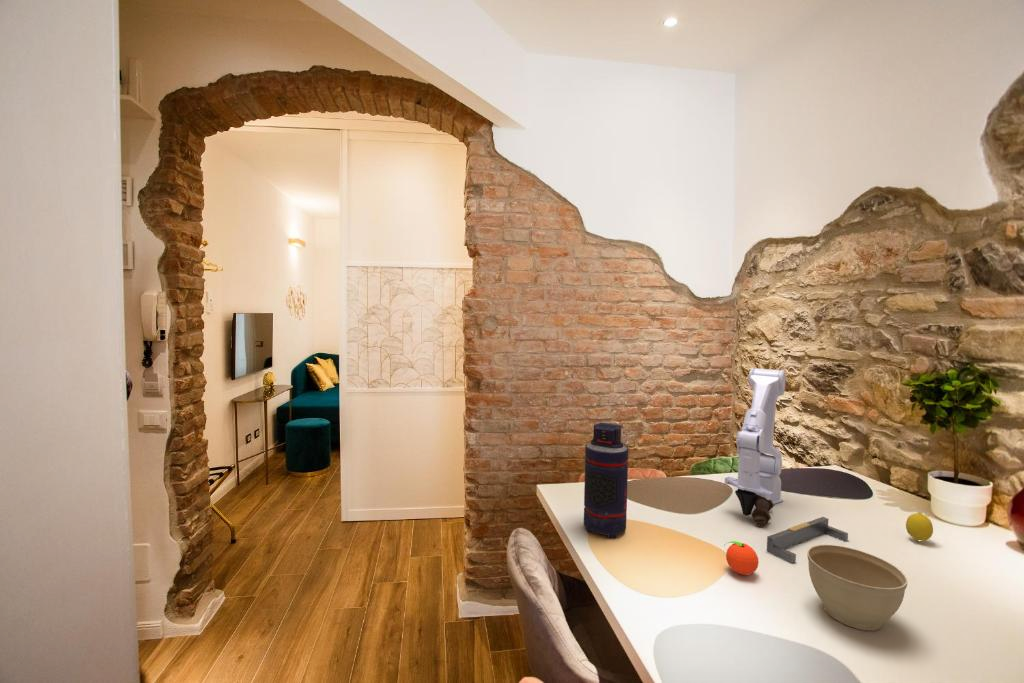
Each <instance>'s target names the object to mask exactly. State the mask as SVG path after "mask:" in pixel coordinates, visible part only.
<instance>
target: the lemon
mask: <svg viewBox="0 0 1024 683" xmlns="http://www.w3.org/2000/svg"><path fill="white" fill-rule="evenodd" d="M905 529H906V532H907V534H908V535H909V536H910V537H912V538H913V539H915V540H916V539H917V540H922V541H928V540H929V539H930V538H931V537H932V536H933V533H934V528H933V523H932V521H931V519H929V517H927V516H926V515H924V514H923V513H921V512H917V513H913V514H910V515H909V516H908V517H907V519H906V522H905ZM917 540H916V541H917Z"/></svg>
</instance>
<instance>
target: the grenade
mask: <svg viewBox="0 0 1024 683" xmlns="http://www.w3.org/2000/svg"><path fill="white" fill-rule="evenodd" d="M622 427H623V425H622V424H616V423H609V422H602V421H601V422H599V423H596V424H594V425H593V437H592V439H591V440H590V441H589V442H587V443H586V444H585V448H584V449H585V450H584V454H585V455H584V457H585V458H584V488H583V489H584V490H583V491H584V492H583V493H584V495H583V496H584V497H583V526H584V527H585V530H586V531H587V533H590V532H593V533H596V534H600V535H606V536H607V537H608V539H616V538H617V535H620V534H622V533H624V532H625V531H626V529H627V511H628V509H627V507H628V479H629V478H628V475H629V462H628V461H629V447H628V444H629V436H628V432H627V431H626V430H625V429H622ZM623 433H625V435H626V442H625V441H624V437H623Z"/></svg>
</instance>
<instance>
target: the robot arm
mask: <svg viewBox="0 0 1024 683" xmlns="http://www.w3.org/2000/svg"><path fill="white" fill-rule="evenodd" d="M786 377H787V376H786V372H785V371H784V370H783V369H781V370H779V369H768V368H755V367H752V368H751V369H750V371H749V374H748V383H749V385H750V389H751V390H752V391H753V392H752V394H753V395H752V402H751V408H749V409H747V410H746V411H745V415H744V418H743V423H742V427H741V430H738V432H737V435H736V447H737V450H736V451H737V452H736V453H737V455H738V463H737V464H738V465H737V466H738V467H737V478H736V477H735V478H734V477H731V476H725V477H724V484H725V485H730V486H733V487H735V488H736V490H734V491H735V492H734V493H735V495H736V497H737V499H738V501H739V504H740V508H741V512H742V515H744V516H746V517H748V516H752V512H753V510H754V507H755V506H754V505H755V503H756V501H757V500H758V498H759V497H760V496H762V497H764V498H766V499H767V500H772V502H773V504H774V505H775V504H778V503H781V502H784V499H782V494H781V493H782V480H781V477H780V475H781V473H782V469H783V468H782V467H783V460H782V459H783V458H782V456H783V454H782V453H781V451H780V450H779V449H777V447H776V446H774V433H775V422H776V421H775V419H776V409H777V408H776V407H777V401H778V398H779V397H781V396H784V395H785V391H786V390H785V389H786Z"/></svg>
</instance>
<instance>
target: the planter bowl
mask: <svg viewBox="0 0 1024 683" xmlns="http://www.w3.org/2000/svg"><path fill="white" fill-rule="evenodd" d="M806 554H807V561H808V563H807V564H808V572H809V576H810V580H811V584H812V586H813V588H814V591H815V593H816V595H817V596H818V598H819V599H820V600H821V602H822V607H823V609H824V610H825V612H826V613H827V614H828V616H830V617H832V618H833V619H834V620H836V621H838V622H840V623H842V624H844V625H845V626H848V627H850V628H851V627H852V628H854V629H859V630H862V631H876V630H879V629H880V628H881V627H882V624H883V623H884V622H885V621H888V620H889V619H890V618H891V617H892V616H893V615H895V614H896V613H897V612H898V610H899V609H900V607H901V605H902V604H903V601H904V597H905V592H906V589H907V587H908V578H907V576H906V574H904V573H903V571H902V570H900V568H898V567H896V565H893V564H892V563H890V562H888V561H887V560H884V559H883V558H881V557H879V556H876V555H873V554H872V553H871V554H870V553H869V552H865V551H862V550H859V549H856V548H852V547H848V546H847V547H846V546H844V545H835V544H834V545H833V544H817V545H814V546H811V547H810V548H808V549H807V553H806Z"/></svg>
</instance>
